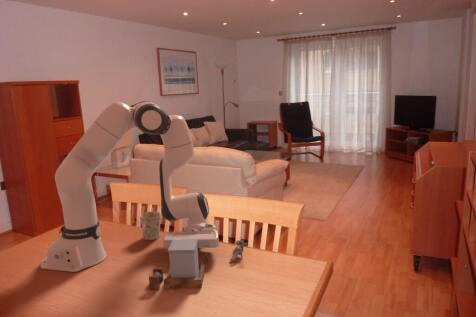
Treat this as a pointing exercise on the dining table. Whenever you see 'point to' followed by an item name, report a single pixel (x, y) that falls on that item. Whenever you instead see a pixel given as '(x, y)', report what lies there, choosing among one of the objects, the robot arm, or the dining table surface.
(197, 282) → the bay
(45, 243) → the dining table surface
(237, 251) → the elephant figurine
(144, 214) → the mug
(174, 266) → the gray rectangular block
